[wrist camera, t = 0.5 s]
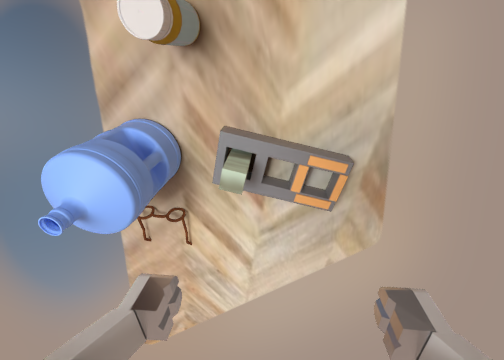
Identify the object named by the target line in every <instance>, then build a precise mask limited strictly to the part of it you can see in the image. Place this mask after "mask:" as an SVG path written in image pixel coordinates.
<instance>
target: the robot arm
mask: <svg viewBox="0 0 504 360" xmlns="http://www.w3.org/2000/svg"><path fill="white" fill-rule="evenodd" d="M178 282H179V281H178V277H177V276H169V275H157V274H143V273H142V274H140V275H139V276H138V277H137V279H136V280H135V282H134V283H133V285H132V286H131V288H130V290H129V291H128V293H127V294H126V296H125V297H124V299H123V300H122V302H121V303H120V305H119V307H118V308H117V309H113V310H111V311H110V312H108V313H107V314H106V315H104V316H103V317H101V318H100V319H98V320H97V321H96V322H94V323H93V324H92V325H90V326H89V327H87V328H86V329H85V330H83V331H82V332H80V333H79V334H77V335H76V336H75V337H73V338H72V339H70V340H69V341H68V342H66V343H65V344H63V345H62V346H61V347H59V348H58V349H56V350H55V351H54V352H52V353H51V354H49V355H48V356H46V357H45V358H44V359H43V360H128V359H129V358H130V357H131V356H132V355H133V354H134V353H135V352H136V351H137V350H138V349H139V348H140V347H141V346H142V345H143V344H144V343H145V342H146V340H164V341H167V339H168V336H169V334H170V331H171V329H172V326H173V324H174V323H173V320H172V318H173V317H174V316H175V315H176V314H177V313H178V311H179V308H180V305H181V300H182V292H181V289H180V288H179V287H178V286H177V285H178ZM378 295H379V297H380V298H379V299H378V300H376V301H375V305H374V315H375V319H376V322H377V325H378V328H379V329H381V331H382V332H383V333H384V334H385V335H384V339H383V342H384V344H385V347H386V349H387V352H388V355H389V357H390V360H492V359H491V358H490V357H488V356H487V355H486V354H484V353H483V352H482V351H480V350H479V349H478V348H477V347H475V346H474V345H473V344H471V343H470V342H469V341H467V340H466V339H465V338H464V337H462V336H461V335H460V334H454V332H453V331H452V329H451V328H450V326H449V324H448V323H447V321H446V320H445V318H444V317H443V315H442V314H441V312H440V310H439V309H438V307H437V306H436V304H435V303H434V301H433V300H432V298H431V297H430V295H429V294H428V292H427V291H426V290H424V289H411V288H394V287H381V288H380V289H379V291H378Z"/></svg>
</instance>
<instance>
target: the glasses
mask: <svg viewBox="0 0 504 360" xmlns="http://www.w3.org/2000/svg"><path fill="white" fill-rule="evenodd" d="M145 208H151V209H152V212H151V214H150V215H148V216H146V217H140V216H138V217H137V219H138V221H139V223H140V225H141V228H142V230H143V236H144V240H147V241H151V239H148V238H146V234H145V228H144V226H143V223H142V221H141V219H148V218H150V217H152V216H153V217H158V218H164V217H166V218H167V220H168V221H171V222H178V221H180V220H182V222H183V226H184V229H185V233H186V243H187V244H190V245H192V243H191V242H189V241H188V232H187V228H186V224H185V221H184V217H185V210H184V209H183V208H173V209H171V210H170V211H169V212H168V213H167V215H155V214H154V211H155V209H154V207H153V206H146V207H145ZM174 210H181V211H183V215H182V216H181V217H180V218H179V219H170V218H169V215H170V213H171V212H172V211H174Z"/></svg>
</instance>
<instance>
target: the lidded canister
mask: <svg viewBox="0 0 504 360" xmlns="http://www.w3.org/2000/svg"><path fill="white" fill-rule="evenodd" d="M117 10H118V14H119V17H120V20H121V22H122V24H123V25H124V27H125V28H126V29H127V30H128V31H129V32H130V33H131V34H132V35H133V36H135V37H137V38H139V39H143V40H149V41H151V42H153V43H156V44H162V45H175V46H187V45H190V44H192V43H193V42H194V41H195V40H196V39H197V37H198V35H199V32H200V20H199V16H198V14H197V12H196V10H195V9H194V7H193V6H192V5H191V4H189V3H188V2H186V1H185V0H117Z"/></svg>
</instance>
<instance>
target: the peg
mask: <svg viewBox="0 0 504 360" xmlns="http://www.w3.org/2000/svg"><path fill="white" fill-rule="evenodd" d="M251 156H252V153H250V152H246V151H242V150H238V149H234V148H232V150H231V152H230V154H229V156H228V158H227V160H226V162H225V164H224V166H223V168H222V173H221V179H220V185H219V189H221V190H225V191H229V192H233V193H237V194H241V195H242V192H243V188H244V184H245V180H246V177H247V173H248V169H249V165H250V161H251Z"/></svg>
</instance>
